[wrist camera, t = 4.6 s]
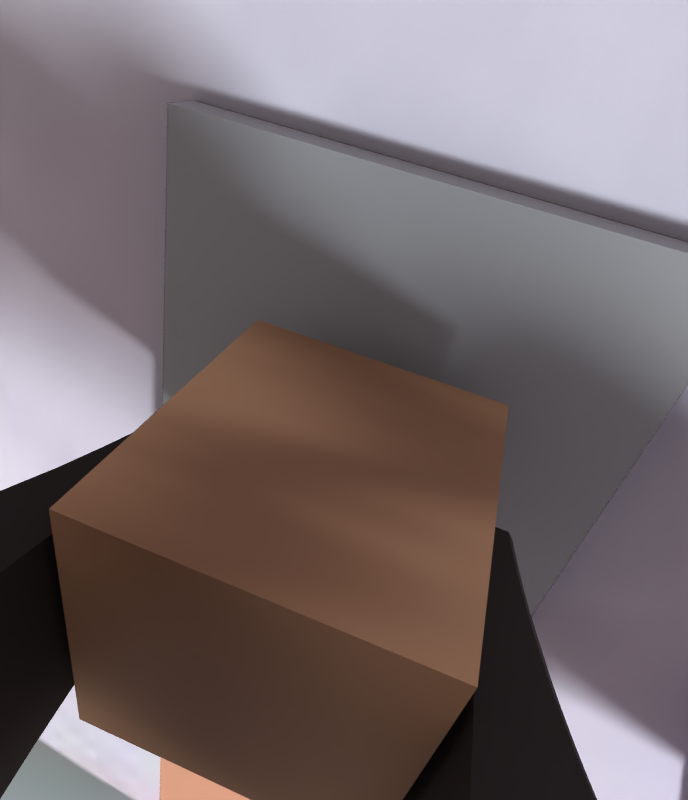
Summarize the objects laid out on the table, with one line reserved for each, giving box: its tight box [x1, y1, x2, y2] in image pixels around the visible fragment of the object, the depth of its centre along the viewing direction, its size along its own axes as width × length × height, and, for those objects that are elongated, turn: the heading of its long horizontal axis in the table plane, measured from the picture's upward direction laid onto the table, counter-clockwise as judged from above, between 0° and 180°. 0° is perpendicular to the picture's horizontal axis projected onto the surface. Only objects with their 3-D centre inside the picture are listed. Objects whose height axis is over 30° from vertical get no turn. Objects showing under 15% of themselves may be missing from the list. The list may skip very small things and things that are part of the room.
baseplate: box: [162, 100, 688, 616], centre depth 12 cm, size 10×10×1 cm
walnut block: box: [49, 320, 509, 800], centre depth 9 cm, size 4×4×5 cm
